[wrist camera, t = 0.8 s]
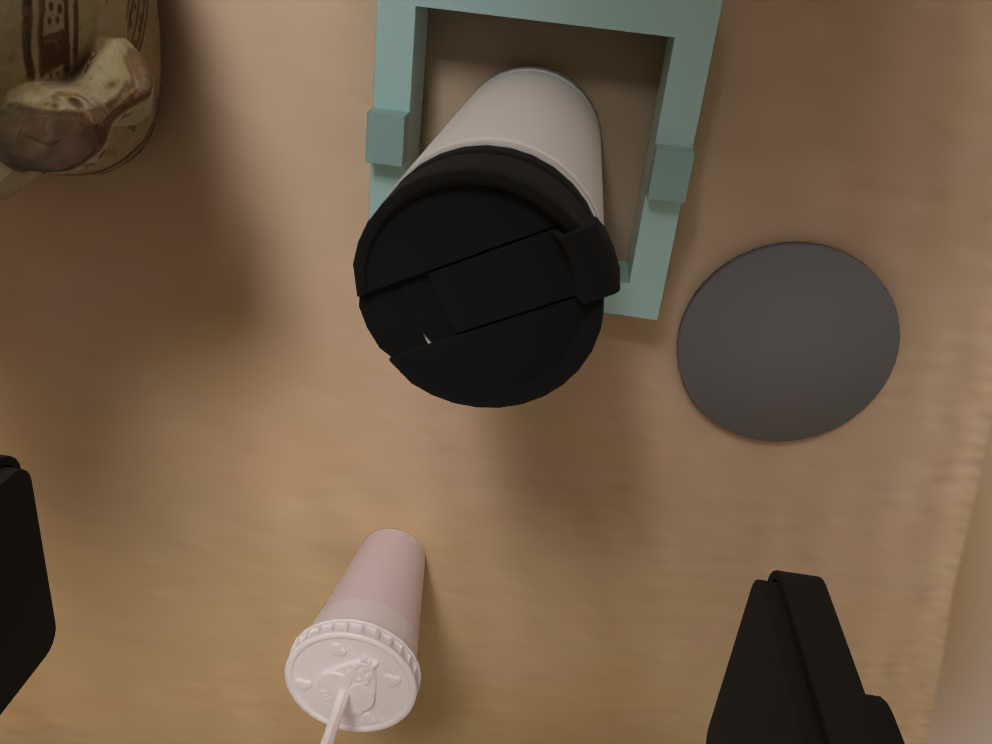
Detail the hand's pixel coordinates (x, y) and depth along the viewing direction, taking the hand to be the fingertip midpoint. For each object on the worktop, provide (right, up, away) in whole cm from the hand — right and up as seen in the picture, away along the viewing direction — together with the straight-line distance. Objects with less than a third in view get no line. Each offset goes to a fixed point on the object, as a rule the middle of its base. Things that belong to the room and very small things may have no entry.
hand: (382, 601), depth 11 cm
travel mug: (+3, +13, +27) cm, 30 cm away
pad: (+15, +4, +30) cm, 34 cm away
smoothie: (-4, -7, +38) cm, 39 cm away
